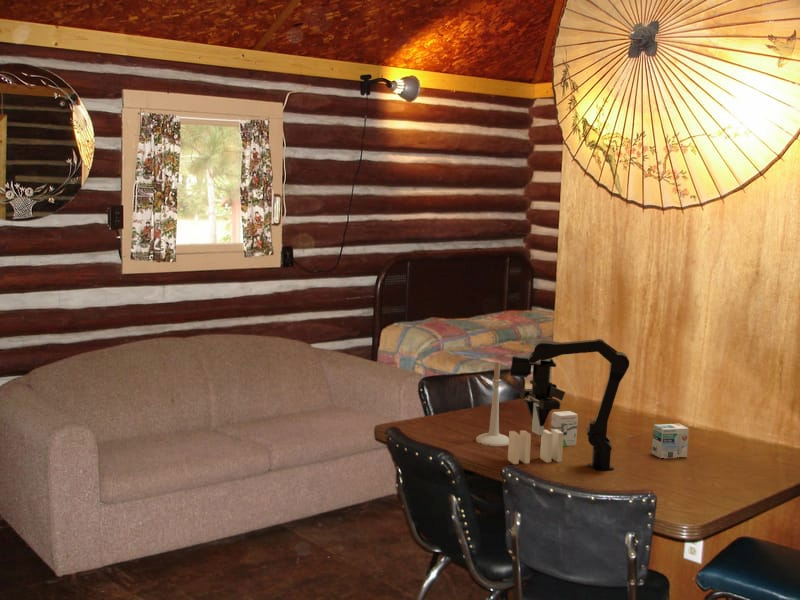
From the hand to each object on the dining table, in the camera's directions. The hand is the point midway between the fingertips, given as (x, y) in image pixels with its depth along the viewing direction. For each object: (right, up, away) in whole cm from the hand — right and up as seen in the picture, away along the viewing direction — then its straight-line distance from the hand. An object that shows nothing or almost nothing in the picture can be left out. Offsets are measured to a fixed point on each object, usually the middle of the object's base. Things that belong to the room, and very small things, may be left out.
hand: (538, 424), depth 303 cm
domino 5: (+7, -13, +5) cm, 16 cm away
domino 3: (0, -3, 0) cm, 3 cm away
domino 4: (+3, -13, +4) cm, 14 cm away
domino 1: (-8, -13, +1) cm, 15 cm away
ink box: (+13, -11, +25) cm, 30 cm away
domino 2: (-5, -13, +2) cm, 14 cm away
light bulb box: (+49, -14, +15) cm, 53 cm away
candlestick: (-12, -10, +25) cm, 30 cm away
